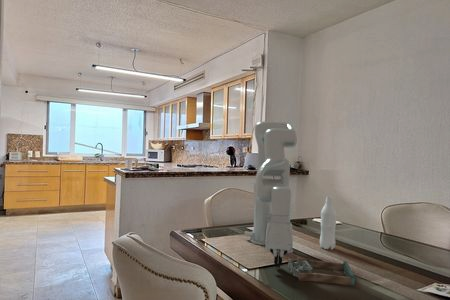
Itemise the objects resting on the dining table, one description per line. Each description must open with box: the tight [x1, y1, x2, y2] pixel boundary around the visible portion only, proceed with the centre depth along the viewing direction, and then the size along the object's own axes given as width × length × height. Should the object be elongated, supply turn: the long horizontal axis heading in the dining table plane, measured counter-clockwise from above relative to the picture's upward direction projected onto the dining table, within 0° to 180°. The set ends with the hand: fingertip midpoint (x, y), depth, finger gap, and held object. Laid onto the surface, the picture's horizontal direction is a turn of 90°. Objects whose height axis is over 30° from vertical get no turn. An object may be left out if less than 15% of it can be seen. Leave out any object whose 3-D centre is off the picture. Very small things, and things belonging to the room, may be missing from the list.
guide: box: [296, 256, 356, 287], centre depth 113 cm, size 19×17×4 cm
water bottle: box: [319, 195, 338, 250], centre depth 146 cm, size 7×7×25 cm
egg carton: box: [287, 257, 314, 279], centre depth 115 cm, size 11×8×4 cm
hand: (277, 266), depth 117 cm, fingers closed
